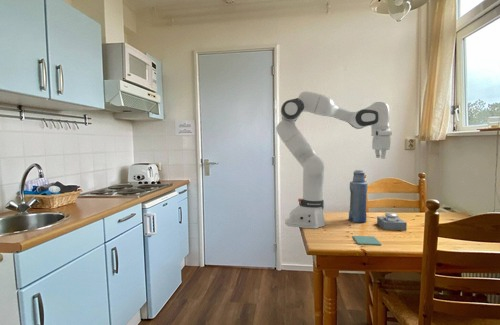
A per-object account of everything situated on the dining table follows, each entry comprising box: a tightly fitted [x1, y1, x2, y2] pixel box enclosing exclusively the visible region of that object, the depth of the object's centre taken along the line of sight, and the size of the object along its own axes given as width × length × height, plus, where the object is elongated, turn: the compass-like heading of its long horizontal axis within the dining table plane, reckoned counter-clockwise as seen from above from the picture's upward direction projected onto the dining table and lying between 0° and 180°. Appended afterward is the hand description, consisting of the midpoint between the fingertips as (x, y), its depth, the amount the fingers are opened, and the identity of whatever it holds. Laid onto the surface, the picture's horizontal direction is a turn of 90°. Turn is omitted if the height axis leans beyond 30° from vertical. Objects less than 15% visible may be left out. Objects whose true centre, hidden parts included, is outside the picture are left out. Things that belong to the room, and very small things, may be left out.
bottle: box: [348, 169, 368, 224], centre depth 158 cm, size 10×10×30 cm
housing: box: [376, 216, 408, 231], centre depth 147 cm, size 11×11×4 cm
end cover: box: [384, 212, 399, 221], centre depth 147 cm, size 6×6×7 cm
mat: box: [352, 235, 382, 246], centre depth 126 cm, size 10×10×1 cm
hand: (380, 158), depth 147 cm, fingers open, 8 cm apart
